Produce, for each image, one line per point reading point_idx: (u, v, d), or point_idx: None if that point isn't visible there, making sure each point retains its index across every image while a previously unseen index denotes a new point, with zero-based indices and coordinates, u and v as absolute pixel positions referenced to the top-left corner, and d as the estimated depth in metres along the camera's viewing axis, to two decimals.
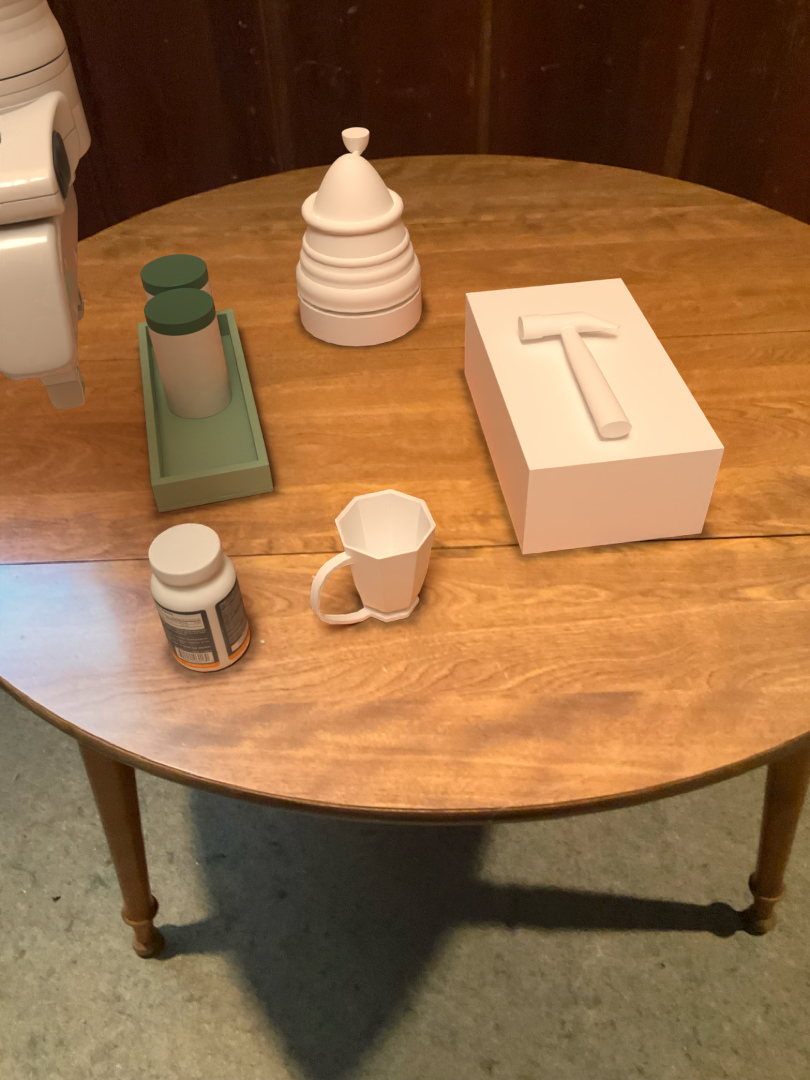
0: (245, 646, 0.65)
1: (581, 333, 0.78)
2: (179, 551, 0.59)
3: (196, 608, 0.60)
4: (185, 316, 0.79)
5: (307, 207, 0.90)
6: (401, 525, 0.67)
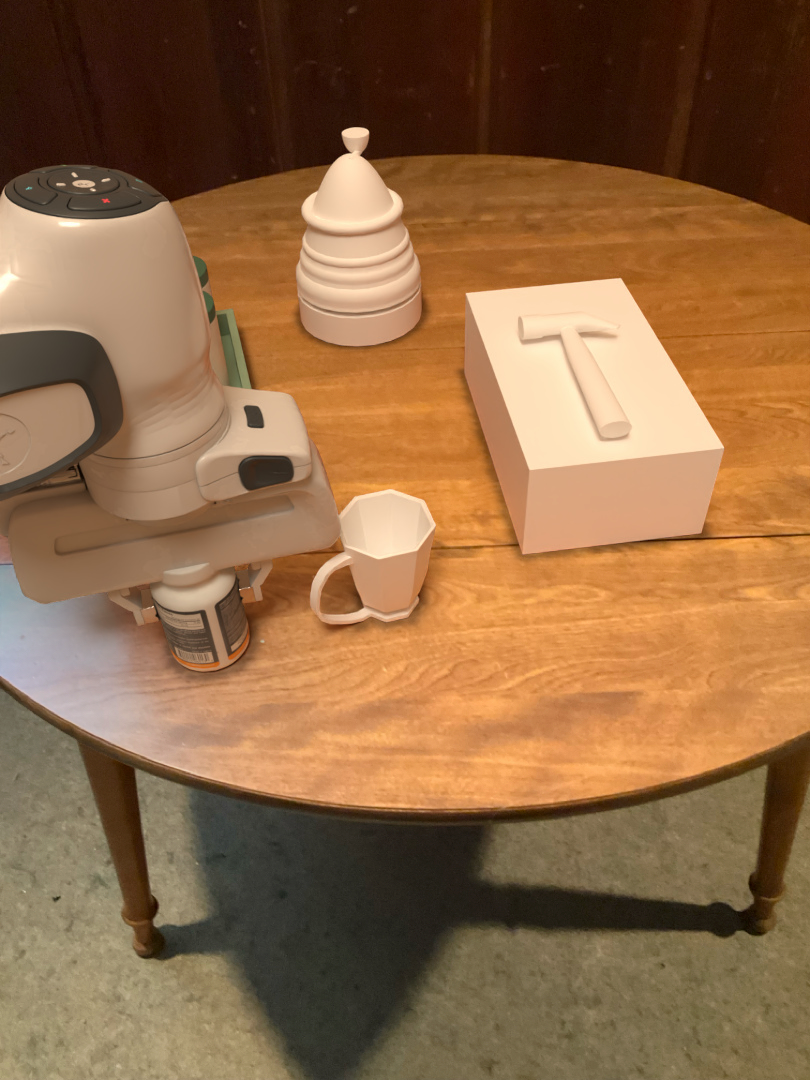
0: (245, 646, 0.65)
1: (581, 333, 0.78)
2: None
3: (196, 608, 0.60)
4: None
5: (307, 207, 0.90)
6: (401, 525, 0.67)
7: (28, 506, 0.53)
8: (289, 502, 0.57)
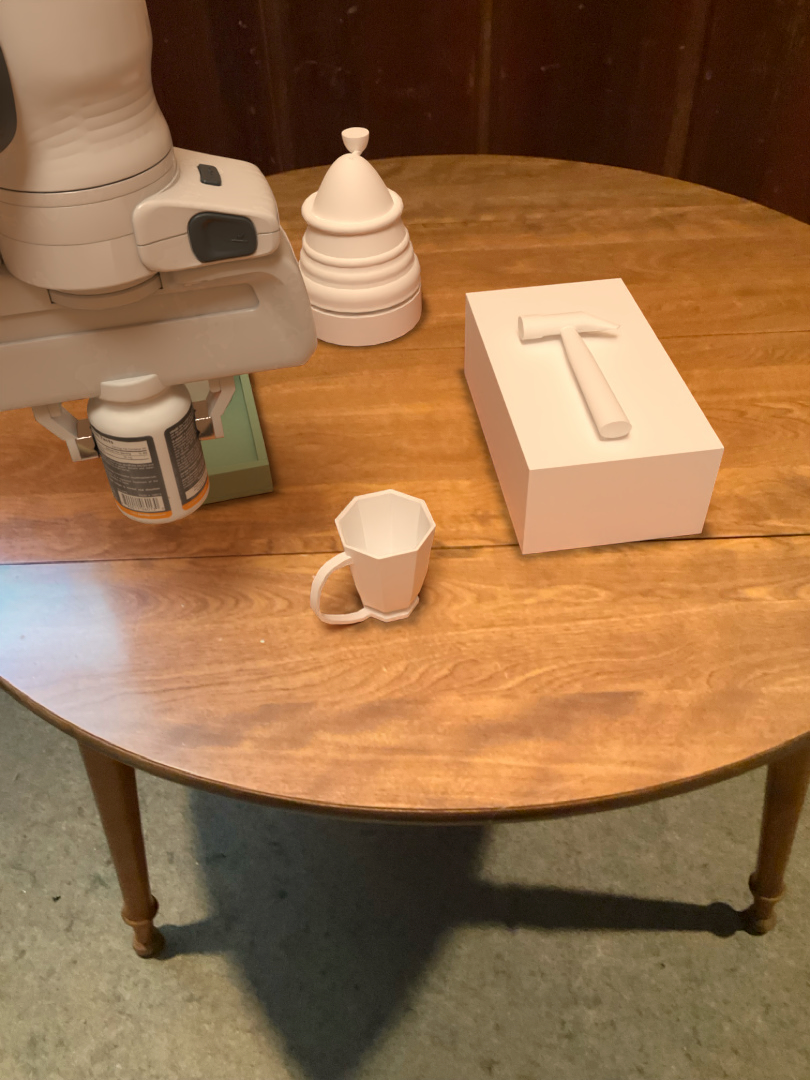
0: (203, 497, 0.55)
1: (581, 333, 0.78)
2: None
3: (141, 433, 0.50)
4: None
5: (307, 207, 0.90)
6: (401, 525, 0.67)
7: None
8: (253, 296, 0.47)
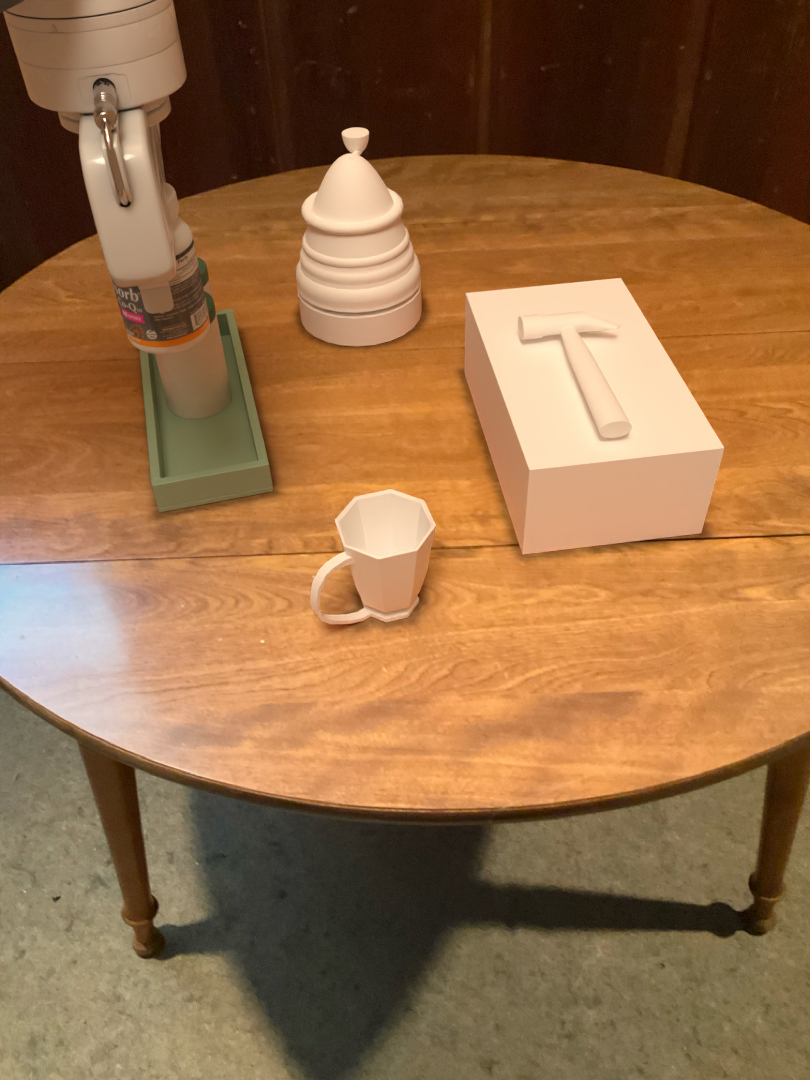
0: None
1: (581, 333, 0.78)
2: None
3: (191, 233, 0.59)
4: None
5: (307, 207, 0.90)
6: (401, 525, 0.67)
7: (128, 137, 0.47)
8: None
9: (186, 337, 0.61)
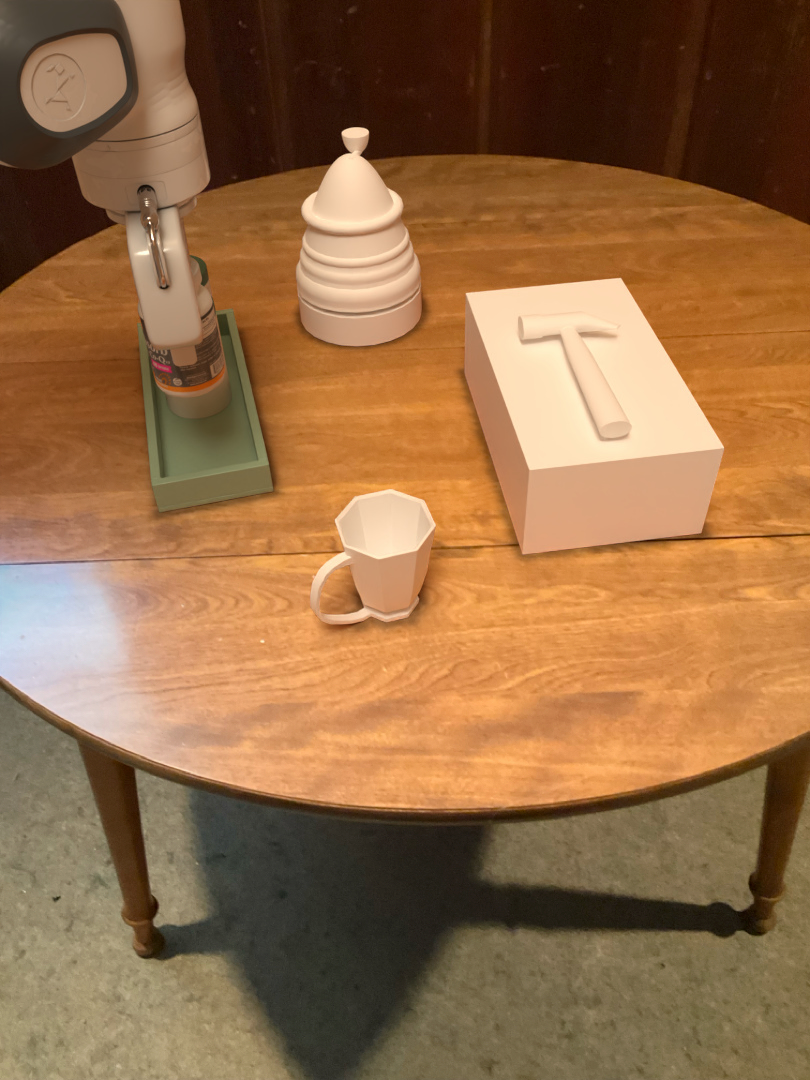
0: None
1: (581, 333, 0.78)
2: None
3: (211, 297, 0.71)
4: None
5: (307, 207, 0.90)
6: (401, 525, 0.67)
7: (166, 234, 0.59)
8: None
9: (206, 383, 0.73)
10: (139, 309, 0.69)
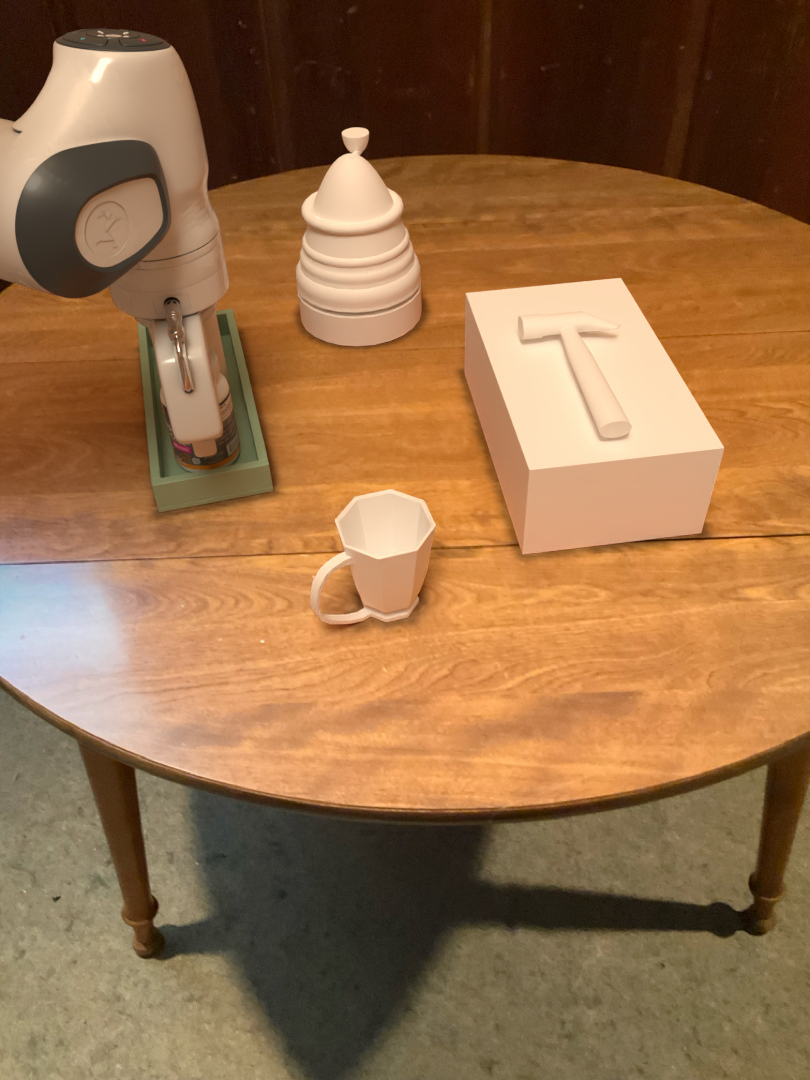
0: None
1: (581, 333, 0.78)
2: None
3: (228, 384, 0.77)
4: None
5: (307, 207, 0.90)
6: (401, 525, 0.67)
7: (191, 343, 0.65)
8: None
9: (223, 461, 0.79)
10: (161, 396, 0.75)
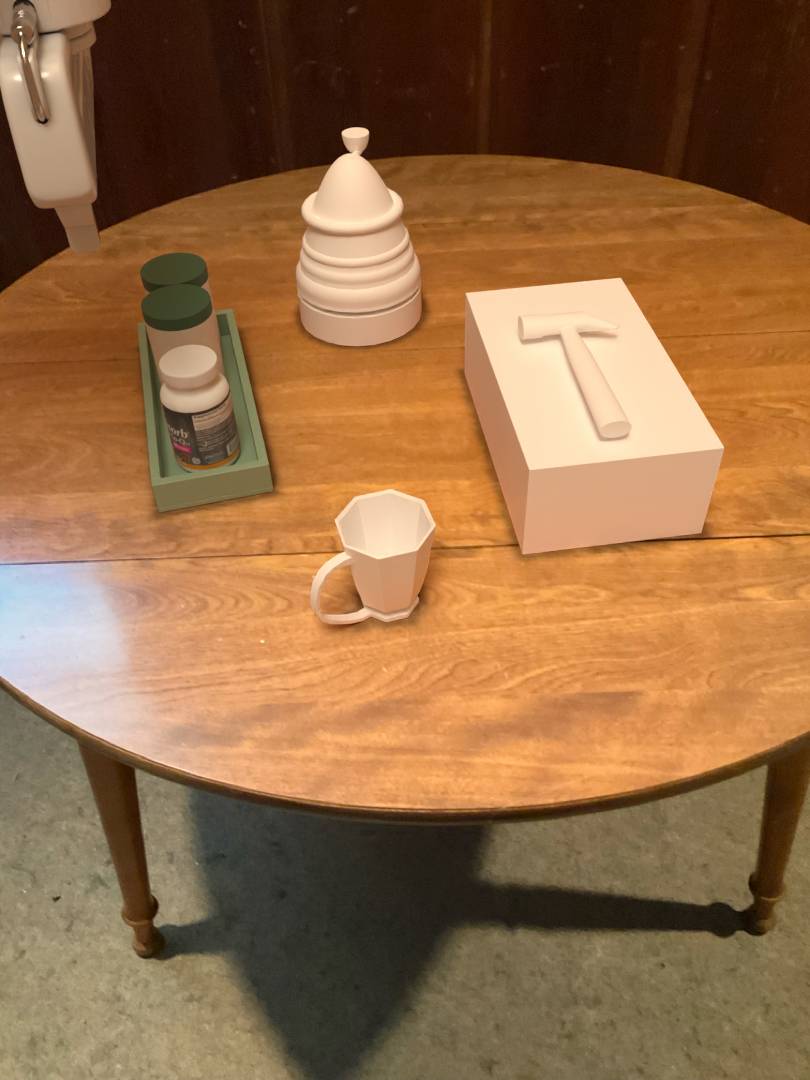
0: None
1: (581, 333, 0.78)
2: (191, 362, 0.74)
3: None
4: (180, 312, 0.79)
5: (307, 207, 0.90)
6: (401, 525, 0.67)
7: (46, 55, 0.48)
8: None
9: (223, 461, 0.79)
10: (161, 396, 0.75)
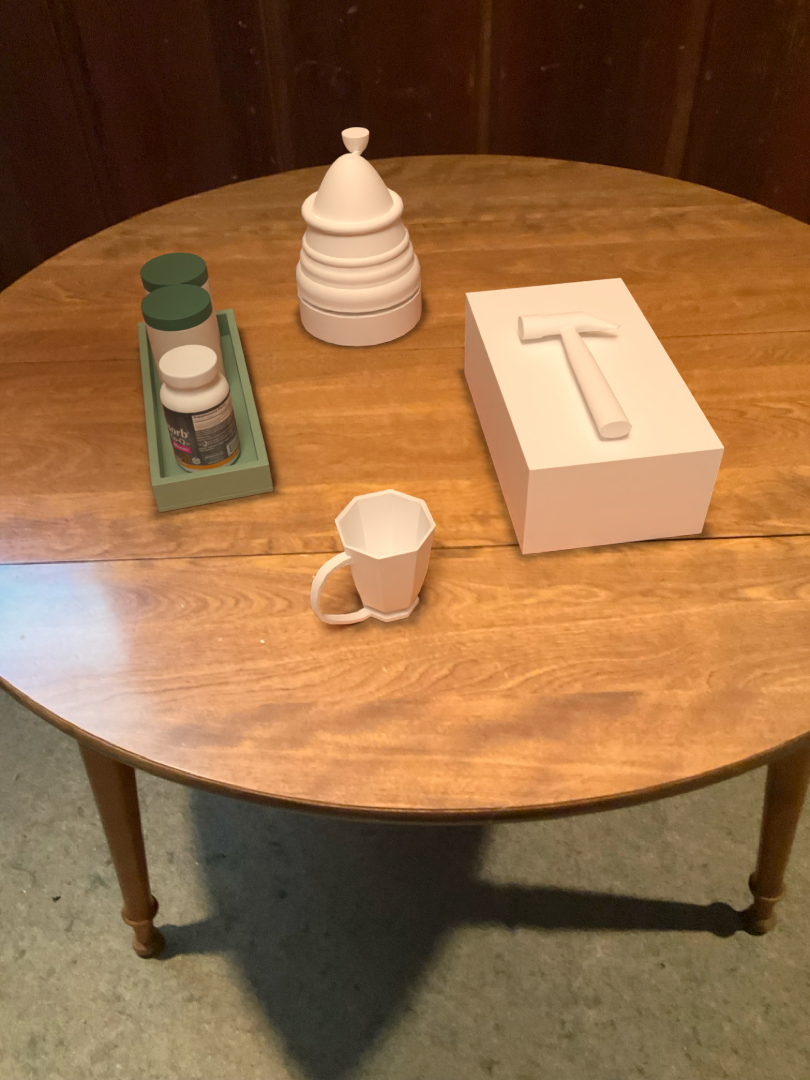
0: None
1: (581, 333, 0.78)
2: (191, 362, 0.74)
3: None
4: (180, 312, 0.79)
5: (307, 207, 0.90)
6: (401, 525, 0.67)
7: None
8: None
9: (222, 461, 0.79)
10: (161, 396, 0.75)
